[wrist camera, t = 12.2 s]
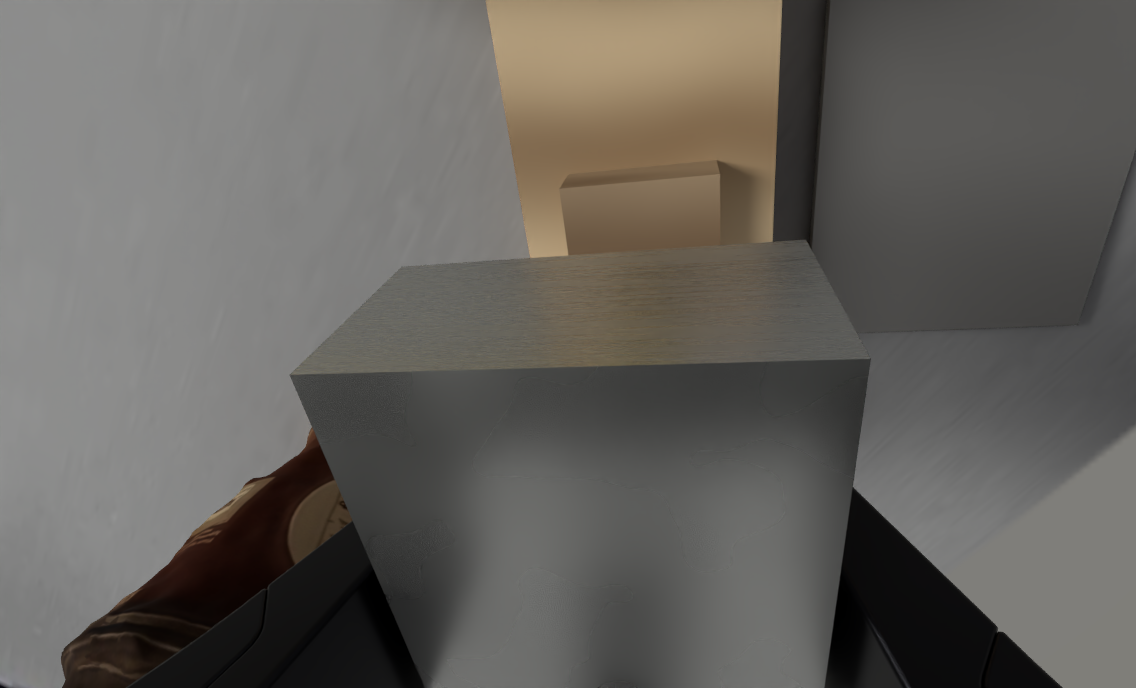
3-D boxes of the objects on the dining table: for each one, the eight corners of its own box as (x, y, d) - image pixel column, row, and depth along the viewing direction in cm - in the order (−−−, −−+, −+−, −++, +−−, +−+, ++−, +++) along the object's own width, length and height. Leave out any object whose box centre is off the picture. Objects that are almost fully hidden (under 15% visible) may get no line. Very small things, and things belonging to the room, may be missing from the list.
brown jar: (420, 366, 24) (194, 688, 12) (497, 513, 27) (374, 864, 16) (254, 404, 26) (-57, 698, 15) (344, 534, 30) (147, 849, 19)
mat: (1070, 319, 18) (1078, 325, 18) (803, 329, 20) (805, 335, 20) (1191, -59, 14) (1205, -61, 13) (827, -6, 15) (830, -6, 15)
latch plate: (756, 378, 21) (773, 461, 18) (569, 382, 23) (548, 459, 19) (775, -251, 13) (815, -355, 9) (481, -183, 15) (412, -249, 11)
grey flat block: (776, 659, 10) (803, 836, 8) (509, 639, 11) (469, 793, 9) (805, 239, 6) (870, 357, 4) (401, 267, 7) (290, 375, 5)
